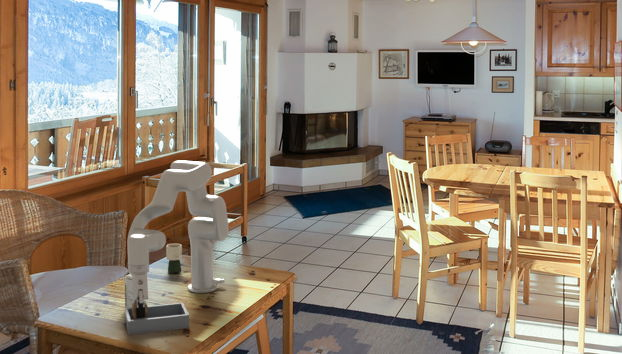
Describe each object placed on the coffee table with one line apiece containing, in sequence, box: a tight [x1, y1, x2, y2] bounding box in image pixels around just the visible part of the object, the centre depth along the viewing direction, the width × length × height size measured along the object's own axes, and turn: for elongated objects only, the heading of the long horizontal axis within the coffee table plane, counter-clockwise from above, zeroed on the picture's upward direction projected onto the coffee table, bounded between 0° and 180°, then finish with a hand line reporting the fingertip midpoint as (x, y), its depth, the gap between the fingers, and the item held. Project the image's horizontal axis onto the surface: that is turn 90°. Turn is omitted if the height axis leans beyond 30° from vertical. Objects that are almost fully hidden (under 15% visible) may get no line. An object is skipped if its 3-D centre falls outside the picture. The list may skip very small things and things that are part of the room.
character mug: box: [165, 243, 183, 274], centre depth 329 cm, size 11×7×13 cm, turn 33°
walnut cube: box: [132, 299, 148, 319], centre depth 263 cm, size 5×5×5 cm
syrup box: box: [124, 273, 146, 309], centre depth 280 cm, size 6×6×14 cm
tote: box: [124, 302, 190, 336], centre depth 266 cm, size 22×14×5 cm, turn 109°
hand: (139, 314), depth 264 cm, fingers closed on walnut cube, 4 cm apart
